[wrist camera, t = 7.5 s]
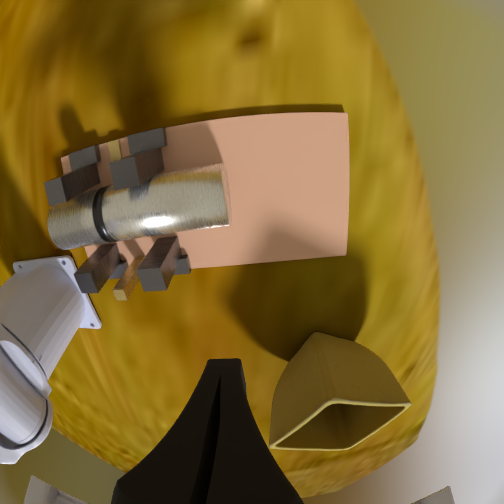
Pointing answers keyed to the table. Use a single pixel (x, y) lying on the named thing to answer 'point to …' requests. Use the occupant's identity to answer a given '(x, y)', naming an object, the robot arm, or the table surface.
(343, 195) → the tile
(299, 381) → the flower pot
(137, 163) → the rail
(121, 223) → the tube
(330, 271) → the table surface
